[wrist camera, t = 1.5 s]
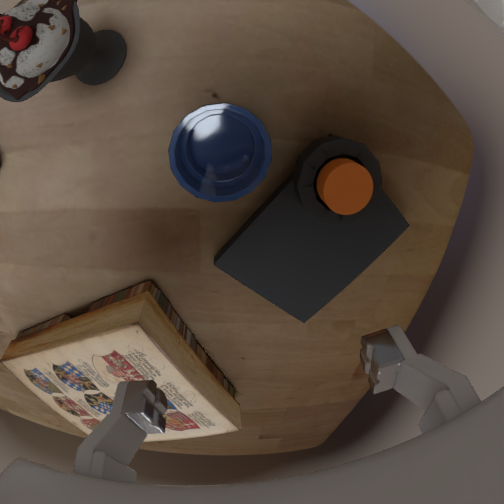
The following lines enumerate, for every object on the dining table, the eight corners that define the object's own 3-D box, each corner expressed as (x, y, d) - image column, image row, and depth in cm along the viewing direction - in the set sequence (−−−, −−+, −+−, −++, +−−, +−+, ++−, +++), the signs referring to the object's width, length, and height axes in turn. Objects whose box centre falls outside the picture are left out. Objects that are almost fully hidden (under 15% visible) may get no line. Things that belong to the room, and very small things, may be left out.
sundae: (150, 64, 18) (40, 25, 5) (83, 109, 18) (-55, 147, 6) (120, 6, 14) (14, -62, 1) (56, 53, 15) (-77, 49, 2)
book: (108, 420, 42) (246, 400, 39) (102, 448, 37) (249, 437, 33) (12, 332, 30) (153, 276, 27) (-5, 362, 25) (138, 321, 21)
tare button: (341, 147, 20) (351, 151, 18) (372, 181, 21) (382, 188, 20) (305, 184, 21) (312, 191, 20) (339, 216, 23) (346, 225, 21)
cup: (216, 87, 19) (213, 83, 15) (278, 138, 22) (292, 148, 17) (164, 150, 21) (149, 163, 17) (226, 196, 24) (226, 219, 19)
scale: (329, 117, 21) (343, 120, 18) (409, 214, 26) (426, 226, 23) (205, 252, 26) (203, 270, 24) (301, 315, 31) (307, 335, 29)
